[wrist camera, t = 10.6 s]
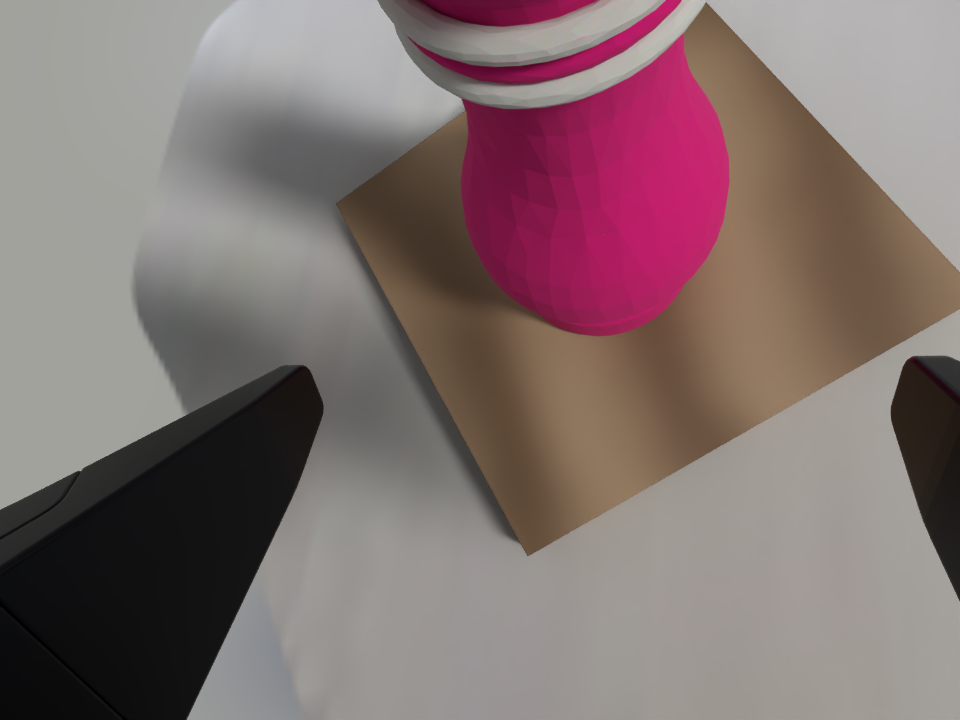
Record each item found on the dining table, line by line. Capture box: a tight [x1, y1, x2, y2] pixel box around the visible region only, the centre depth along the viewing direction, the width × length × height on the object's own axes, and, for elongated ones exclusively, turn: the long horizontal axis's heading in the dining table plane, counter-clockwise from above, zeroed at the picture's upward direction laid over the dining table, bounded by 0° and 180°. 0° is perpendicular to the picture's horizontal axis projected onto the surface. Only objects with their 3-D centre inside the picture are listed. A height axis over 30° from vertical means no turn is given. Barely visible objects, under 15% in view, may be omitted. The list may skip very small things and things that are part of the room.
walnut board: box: [336, 3, 960, 556], centre depth 21 cm, size 16×16×1 cm
